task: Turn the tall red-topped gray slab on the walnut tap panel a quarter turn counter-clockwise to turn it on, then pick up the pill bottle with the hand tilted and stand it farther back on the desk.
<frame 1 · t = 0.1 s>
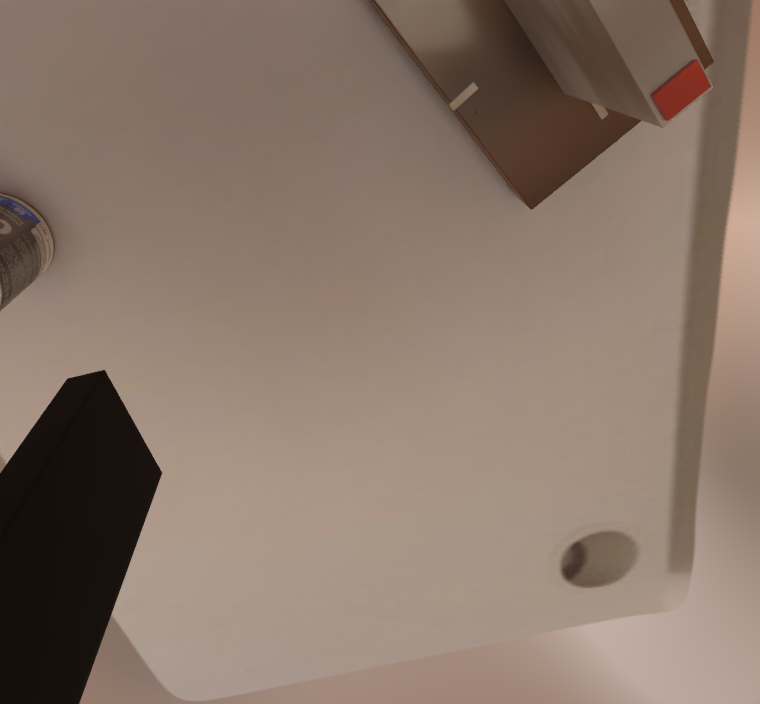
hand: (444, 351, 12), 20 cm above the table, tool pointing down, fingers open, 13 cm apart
tap panel: (527, 20, 27), on the table
red-topped gray slab: (586, 23, 21), point 7 cm above the table, hinge at 0.0°
pill bottle: (8, 234, 30), on the table
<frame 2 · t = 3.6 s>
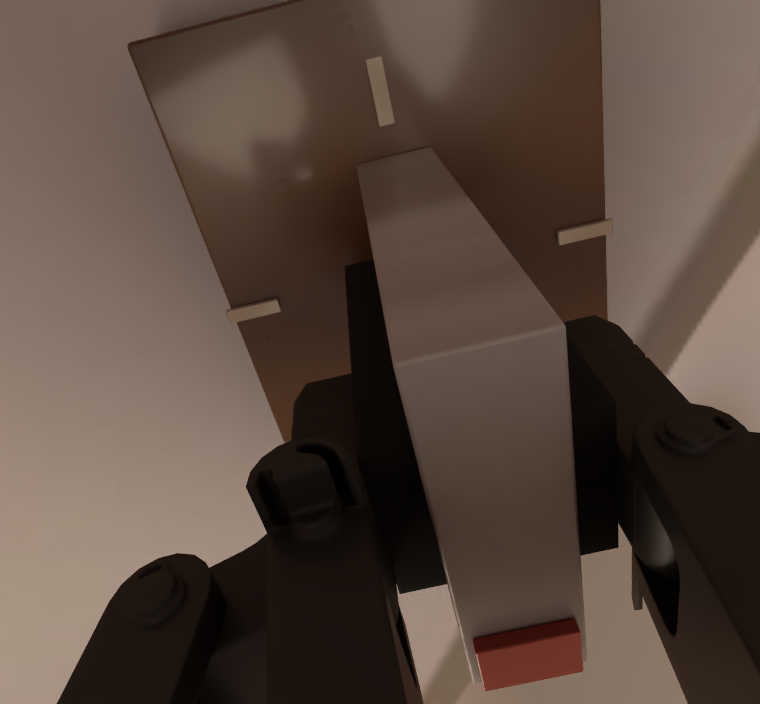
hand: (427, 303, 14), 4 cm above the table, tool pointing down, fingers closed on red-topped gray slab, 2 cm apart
tap panel: (405, 238, 17), on the table
red-topped gray slab: (448, 363, 11), point 7 cm above the table, hinge at -0.1°, touching gripper
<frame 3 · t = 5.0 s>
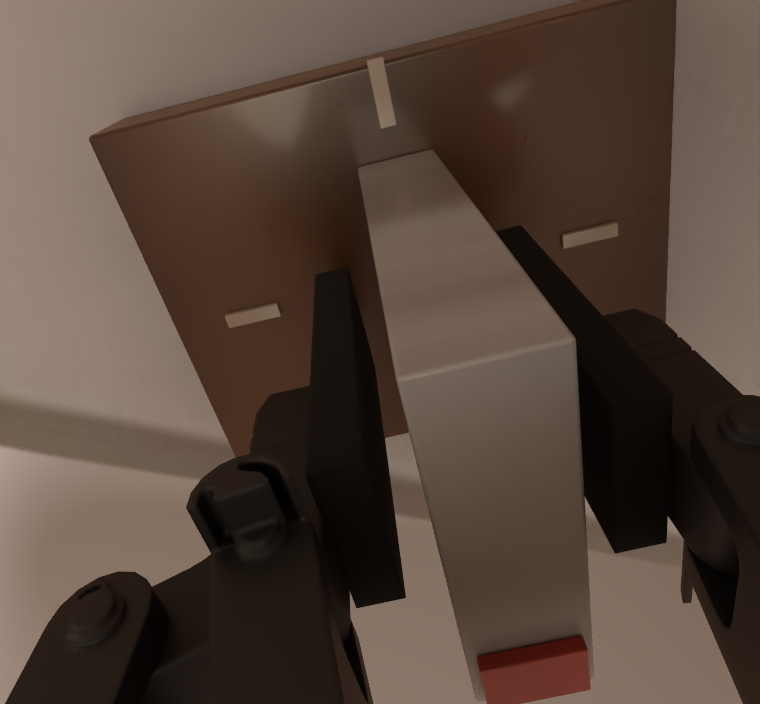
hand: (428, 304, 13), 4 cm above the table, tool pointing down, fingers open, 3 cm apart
tap panel: (407, 241, 17), on the table
red-topped gray slab: (451, 371, 11), point 7 cm above the table, hinge at 89.9°
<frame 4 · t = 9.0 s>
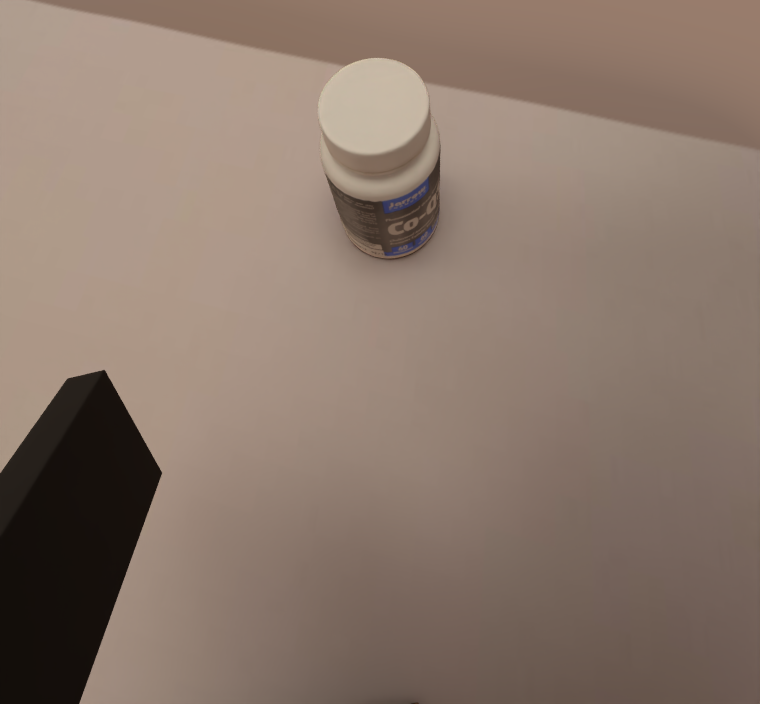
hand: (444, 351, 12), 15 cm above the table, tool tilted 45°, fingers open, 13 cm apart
pill bottle: (391, 217, 29), on the table
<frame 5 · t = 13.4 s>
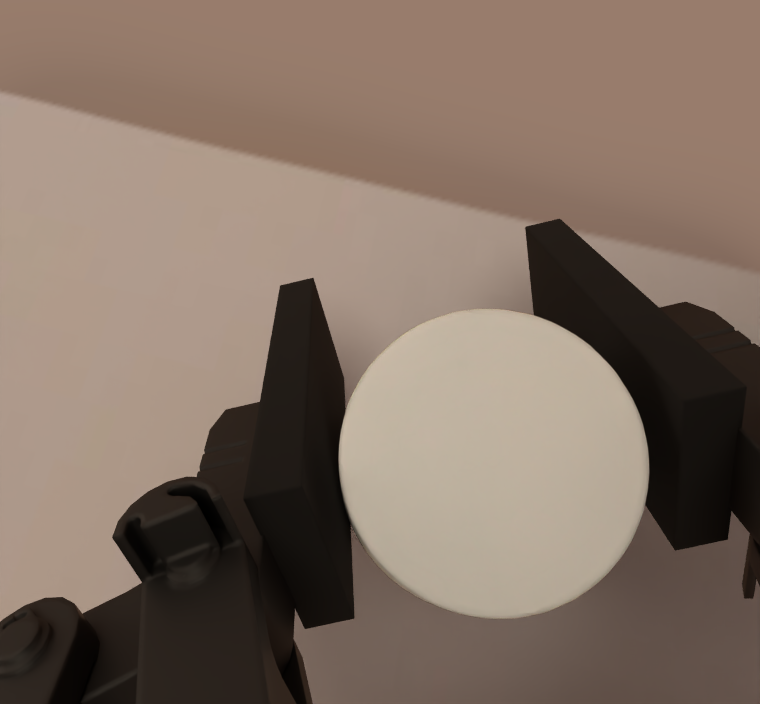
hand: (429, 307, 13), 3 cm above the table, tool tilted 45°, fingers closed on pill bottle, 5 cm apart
pill bottle: (463, 475, 16), on the table, touching gripper
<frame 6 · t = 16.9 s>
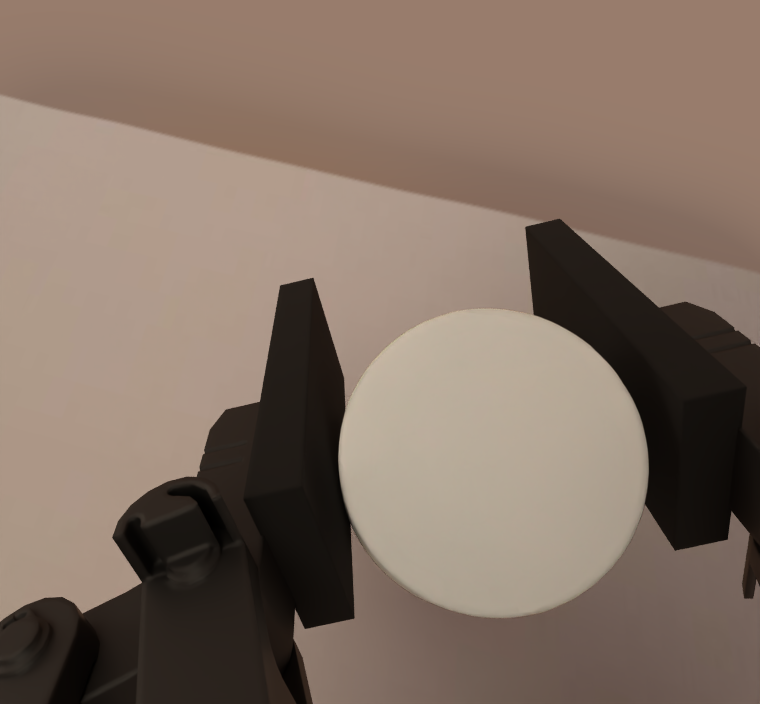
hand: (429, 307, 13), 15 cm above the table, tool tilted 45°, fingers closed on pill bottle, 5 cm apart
pill bottle: (463, 475, 16), point 12 cm above the table, touching gripper
when the fingers open (3 cm above the table, at t = 20.9 s): pill bottle stays where it is, on the table.
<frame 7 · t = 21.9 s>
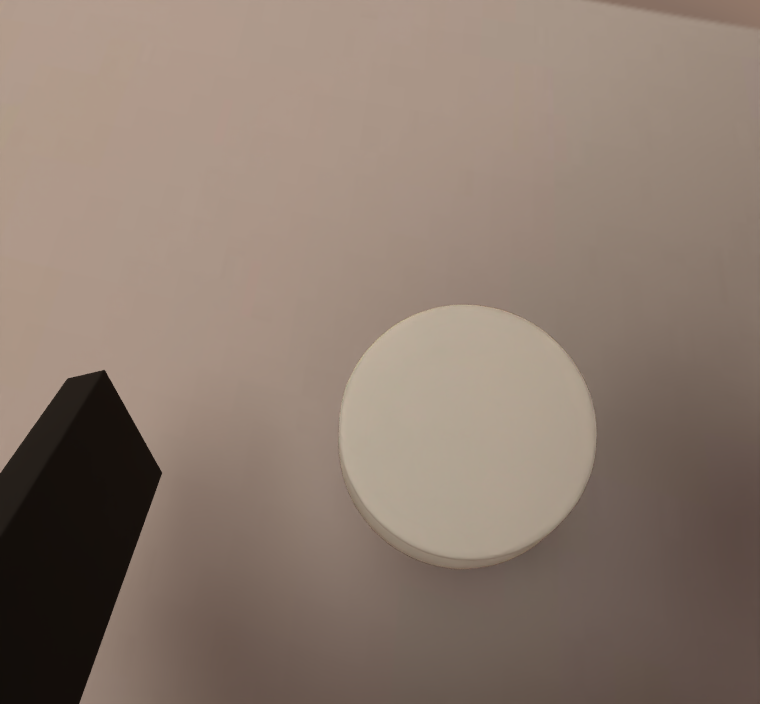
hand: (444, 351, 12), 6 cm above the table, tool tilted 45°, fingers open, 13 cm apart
pill bottle: (450, 459, 17), on the table
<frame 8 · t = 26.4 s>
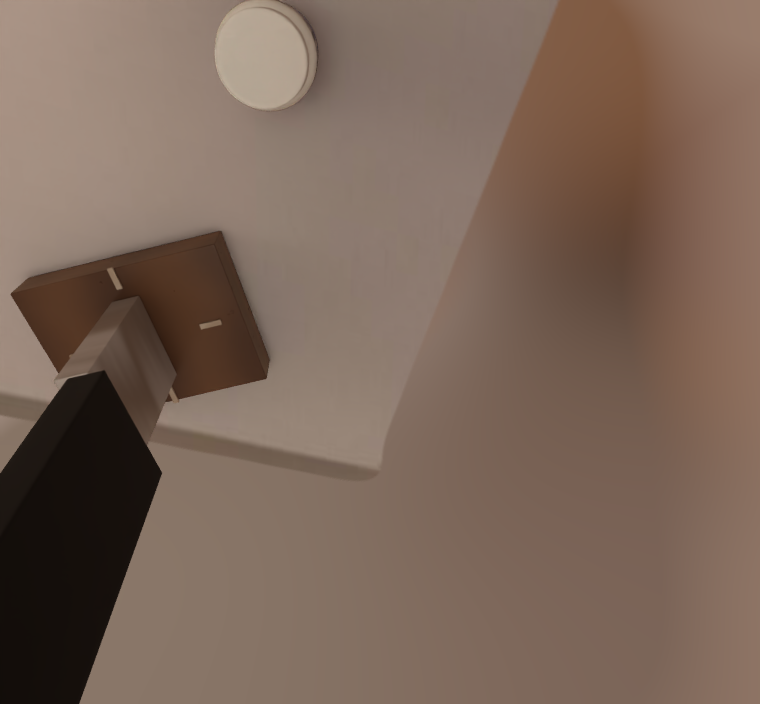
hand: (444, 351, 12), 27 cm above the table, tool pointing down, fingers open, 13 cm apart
tap panel: (155, 321, 40), on the table
red-topped gray slab: (124, 378, 34), point 7 cm above the table, hinge at 89.9°
pill bottle: (276, 50, 32), on the table
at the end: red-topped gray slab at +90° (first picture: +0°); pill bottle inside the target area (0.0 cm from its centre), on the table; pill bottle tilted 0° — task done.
